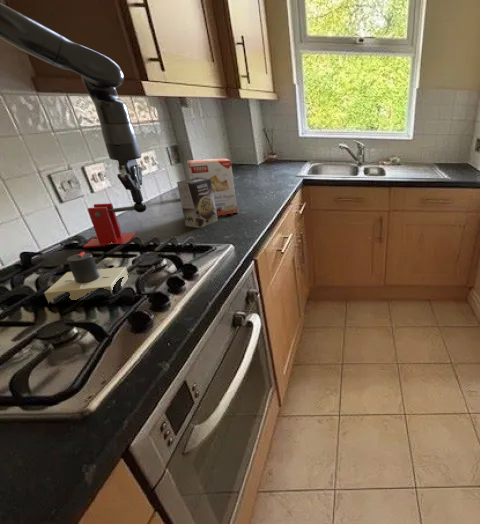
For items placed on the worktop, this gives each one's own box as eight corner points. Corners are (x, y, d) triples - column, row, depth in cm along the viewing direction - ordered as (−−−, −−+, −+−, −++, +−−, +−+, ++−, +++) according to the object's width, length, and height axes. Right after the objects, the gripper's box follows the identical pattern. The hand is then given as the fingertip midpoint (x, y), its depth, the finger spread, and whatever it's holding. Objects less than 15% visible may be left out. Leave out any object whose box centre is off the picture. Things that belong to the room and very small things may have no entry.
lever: (149, 210, 102) (145, 200, 101) (146, 213, 100) (142, 202, 98) (100, 216, 99) (96, 205, 98) (96, 219, 96) (91, 208, 95)
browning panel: (49, 305, 71) (43, 292, 69) (71, 283, 79) (66, 271, 78) (114, 297, 74) (110, 285, 73) (129, 277, 83) (125, 266, 81)
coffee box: (200, 230, 114) (190, 183, 107) (185, 227, 116) (175, 181, 109) (219, 222, 122) (211, 178, 115) (205, 220, 124) (196, 176, 117)
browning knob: (95, 281, 74) (87, 258, 72) (71, 284, 73) (62, 260, 70) (102, 273, 78) (94, 250, 76) (80, 275, 77) (71, 252, 74)
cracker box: (200, 219, 124) (189, 162, 115) (197, 215, 128) (186, 159, 119) (238, 214, 132) (230, 159, 123) (234, 210, 136) (226, 157, 127)
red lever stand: (137, 236, 107) (126, 201, 102) (128, 247, 99) (116, 209, 94) (97, 239, 104) (84, 202, 99) (84, 250, 96) (69, 211, 91)
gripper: (114, 138, 96) (131, 197, 104) (95, 143, 85) (116, 209, 92) (143, 138, 98) (158, 196, 106) (128, 143, 87) (146, 207, 95)
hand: (138, 202), depth 99 cm, fingers closed
